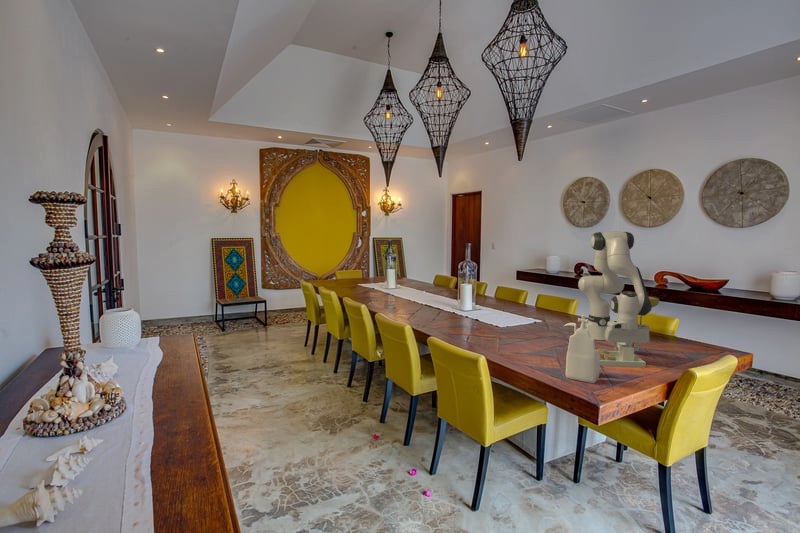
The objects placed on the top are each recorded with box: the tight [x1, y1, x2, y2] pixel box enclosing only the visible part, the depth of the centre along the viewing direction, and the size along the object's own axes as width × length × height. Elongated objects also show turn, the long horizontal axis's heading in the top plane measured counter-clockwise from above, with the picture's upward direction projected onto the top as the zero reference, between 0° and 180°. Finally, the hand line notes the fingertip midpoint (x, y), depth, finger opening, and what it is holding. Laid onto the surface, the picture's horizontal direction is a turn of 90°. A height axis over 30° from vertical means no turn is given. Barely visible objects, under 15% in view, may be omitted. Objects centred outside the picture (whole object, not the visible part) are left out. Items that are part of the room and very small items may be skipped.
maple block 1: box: [597, 348, 610, 354], centre depth 208 cm, size 4×4×4 cm
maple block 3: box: [604, 354, 616, 361], centre depth 199 cm, size 4×4×4 cm
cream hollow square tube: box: [619, 345, 635, 361], centre depth 201 cm, size 5×5×8 cm
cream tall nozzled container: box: [563, 314, 601, 384], centre depth 184 cm, size 17×14×30 cm
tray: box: [599, 350, 647, 368], centre depth 203 cm, size 17×22×4 cm
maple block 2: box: [598, 351, 606, 360], centre depth 203 cm, size 4×4×4 cm
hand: (626, 350), depth 201 cm, fingers open, 8 cm apart
